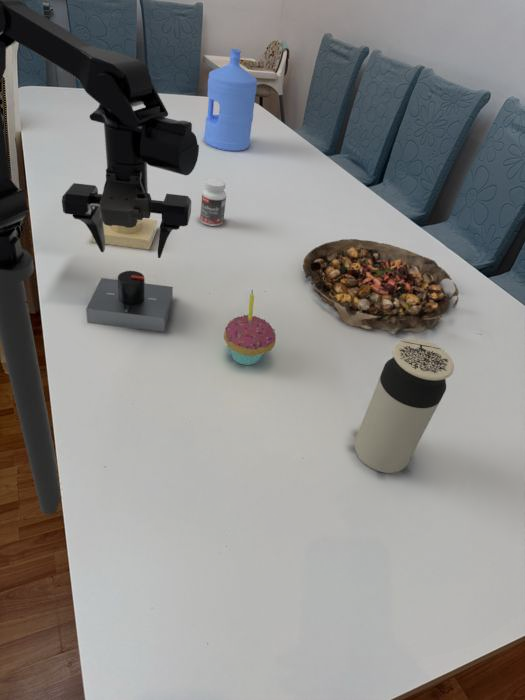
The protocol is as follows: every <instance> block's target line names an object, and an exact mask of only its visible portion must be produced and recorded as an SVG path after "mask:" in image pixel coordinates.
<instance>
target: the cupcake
mask: <svg viewBox="0 0 525 700" xmlns="http://www.w3.org/2000/svg"><path fill="white" fill-rule="evenodd" d="M250 293H251V294H250V295H249V303H248V314H244V315H242V316H237V317H234V318H232V320H229V322H228V323H227V325H226V326H225V329H224V332H223V340H224V342H225V343H226V345H227V347H228V348H229V349H230V352H231V357H232V359H233V360H234V362H236V363H238V364H240V365H243V366H252V365H255V364H257V363H258V362H259V361H260V359H261V358H262V356H263V355H264V354H265V353H267V352H270V351H272V350H273V349H274V347H275V346H276V342H277V341H276V337H277V334H276V329H275V328H273V326H272V325H271V324H270V322H268V321H266V319H263V318H261V317H258V316H256V315H253V313H254V312H253V311H254V302H255V301H254V300H255V294H254V290H253V289H251V292H250Z"/></svg>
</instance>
